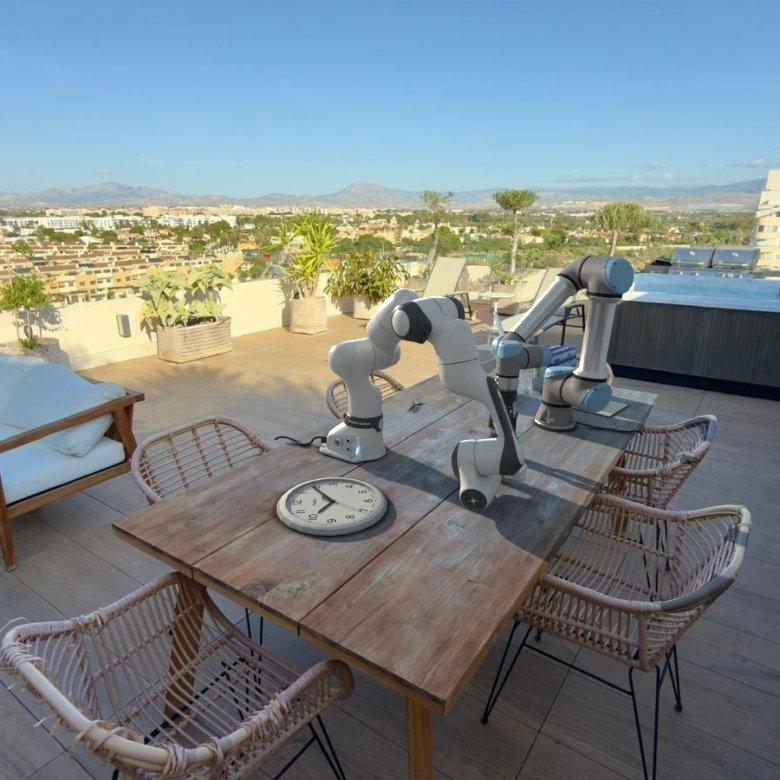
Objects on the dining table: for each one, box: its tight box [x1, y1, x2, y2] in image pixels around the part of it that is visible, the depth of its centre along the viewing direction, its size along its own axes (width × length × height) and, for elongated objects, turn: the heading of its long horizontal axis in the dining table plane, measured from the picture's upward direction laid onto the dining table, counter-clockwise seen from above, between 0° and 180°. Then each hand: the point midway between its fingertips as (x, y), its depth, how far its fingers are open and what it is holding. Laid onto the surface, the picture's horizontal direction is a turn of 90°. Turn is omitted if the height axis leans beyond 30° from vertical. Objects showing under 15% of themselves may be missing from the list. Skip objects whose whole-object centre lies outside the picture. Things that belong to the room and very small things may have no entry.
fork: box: [408, 396, 423, 412], centre depth 222 cm, size 3×16×2 cm, turn 160°
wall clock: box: [276, 476, 388, 537], centre depth 142 cm, size 30×2×30 cm
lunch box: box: [531, 345, 577, 394], centre depth 245 cm, size 26×11×21 cm, turn 134°
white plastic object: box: [477, 310, 531, 397], centre depth 245 cm, size 37×45×31 cm
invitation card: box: [573, 400, 629, 418], centre depth 226 cm, size 21×1×15 cm
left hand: (496, 456), depth 160 cm, fingers closed on jar, 5 cm apart
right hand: (499, 453), depth 178 cm, fingers closed on lid, 6 cm apart
